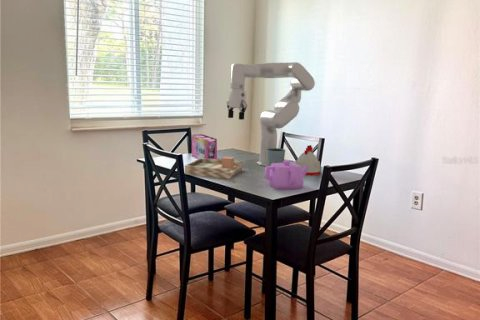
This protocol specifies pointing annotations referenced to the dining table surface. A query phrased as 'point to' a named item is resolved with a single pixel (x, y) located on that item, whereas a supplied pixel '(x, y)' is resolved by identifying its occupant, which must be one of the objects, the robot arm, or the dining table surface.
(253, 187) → the dining table surface
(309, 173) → the kitchen timer
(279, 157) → the gray plant pot
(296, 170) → the teakettle
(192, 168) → the wooden tray
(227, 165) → the block
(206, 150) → the gum box
